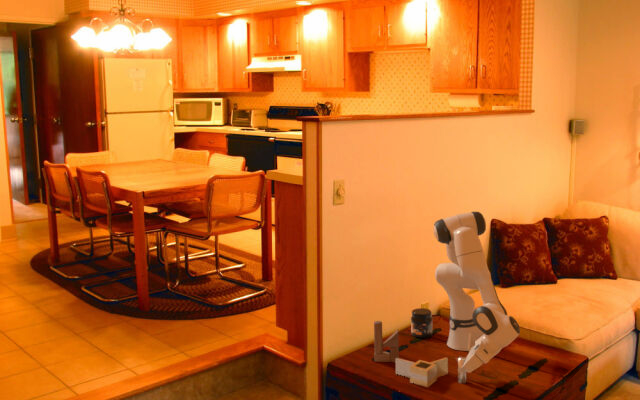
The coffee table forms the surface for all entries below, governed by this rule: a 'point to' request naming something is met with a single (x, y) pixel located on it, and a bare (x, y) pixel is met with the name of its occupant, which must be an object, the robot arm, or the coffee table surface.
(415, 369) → the cream winged socket block
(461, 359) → the rounded cylinder
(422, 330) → the supplement container
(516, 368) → the coffee table surface
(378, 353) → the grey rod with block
